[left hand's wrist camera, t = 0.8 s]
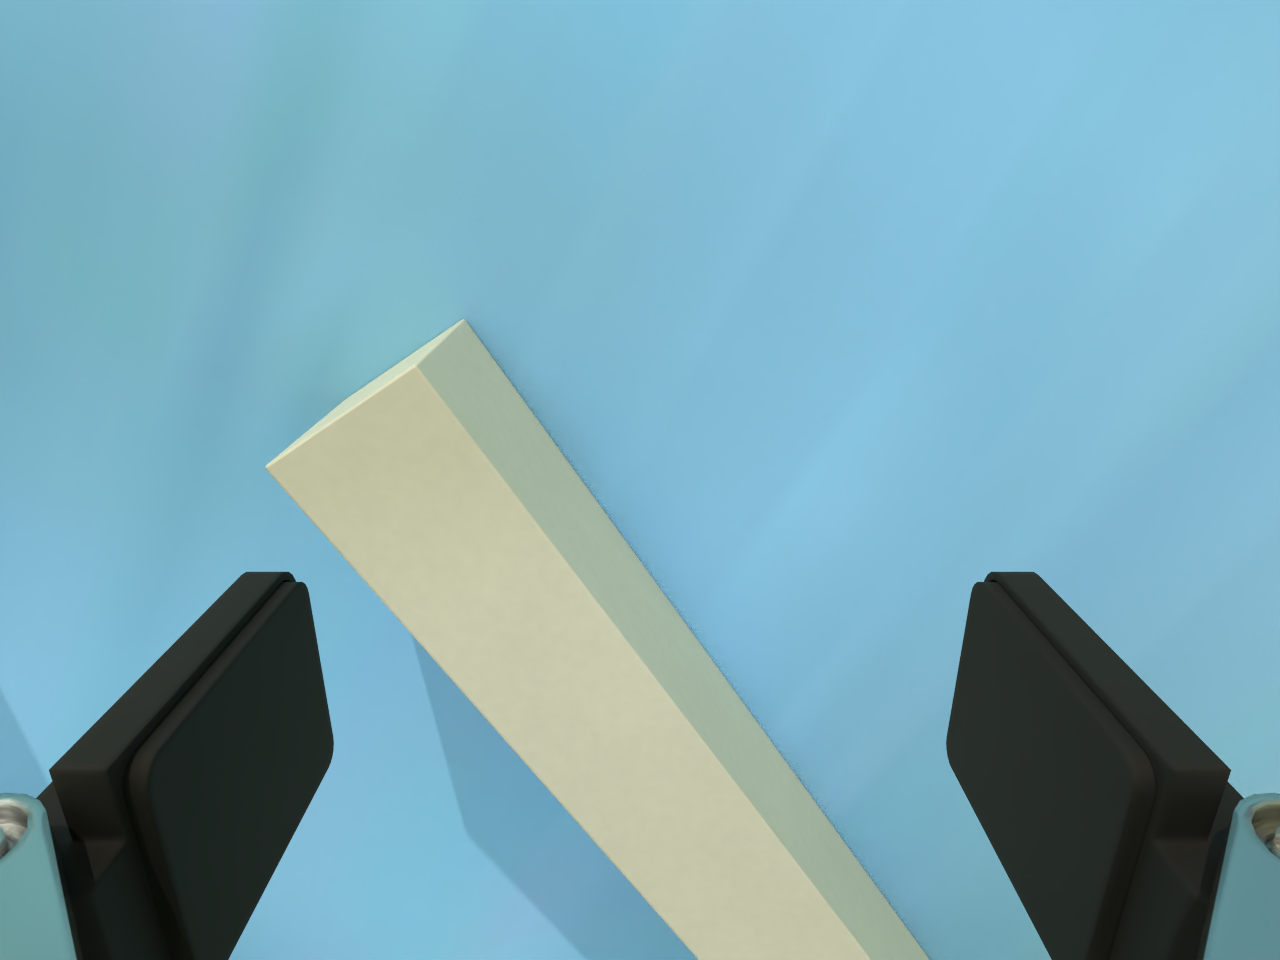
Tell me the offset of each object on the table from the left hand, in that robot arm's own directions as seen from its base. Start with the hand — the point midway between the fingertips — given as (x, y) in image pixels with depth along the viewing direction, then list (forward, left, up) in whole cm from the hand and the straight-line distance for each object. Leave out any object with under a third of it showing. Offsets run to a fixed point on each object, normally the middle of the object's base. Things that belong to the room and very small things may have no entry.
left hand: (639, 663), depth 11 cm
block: (+11, -24, -21) cm, 34 cm away
